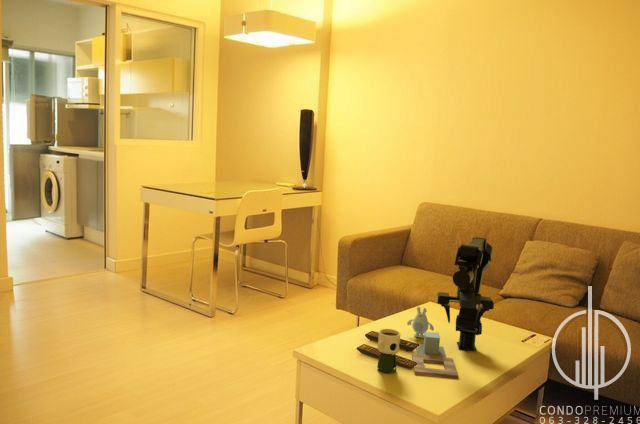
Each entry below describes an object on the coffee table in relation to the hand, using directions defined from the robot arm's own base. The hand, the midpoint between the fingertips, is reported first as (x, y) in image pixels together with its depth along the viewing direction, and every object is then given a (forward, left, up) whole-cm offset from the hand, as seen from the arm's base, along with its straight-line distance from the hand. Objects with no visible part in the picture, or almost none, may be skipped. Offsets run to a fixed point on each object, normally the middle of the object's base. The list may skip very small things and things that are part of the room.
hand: (462, 324), depth 189 cm
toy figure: (-18, -13, -13) cm, 26 cm away
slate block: (-4, -9, -12) cm, 16 cm away
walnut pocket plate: (+9, -10, -13) cm, 18 cm away
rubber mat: (-4, -10, -13) cm, 17 cm away
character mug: (+15, -26, -13) cm, 32 cm away
